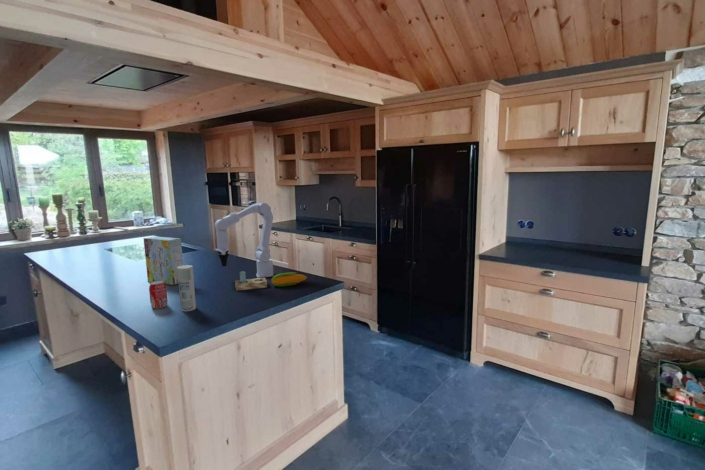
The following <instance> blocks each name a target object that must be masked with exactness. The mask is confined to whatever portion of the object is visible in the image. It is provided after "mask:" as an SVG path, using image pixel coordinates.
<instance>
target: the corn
mask: <svg viewBox="0 0 705 470" xmlns="http://www.w3.org/2000/svg"><path fill="white" fill-rule="evenodd" d="M307 278H308V277H307V276H306V275H304V274H301V273H300V274H298V273H297V272H295V271H294V272H293V271H292V272H291V271H290V272H288V271H287V272H282V273H277V274H274V276H271V279H270V282H271V284H272V286H275V287H278V288H279V287H280V288H281V287H291V286H295V285H297V284H299V283H301V282H303V281H305V280H306V279H307Z"/></svg>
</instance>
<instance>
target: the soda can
mask: <svg viewBox="0 0 705 470" xmlns="http://www.w3.org/2000/svg"><path fill="white" fill-rule="evenodd" d="M148 290H149V291H148V292H149V301H150V307H151V308H153V309H154V308H155V309H154V310H156V309H157V310H160V309H163V307H164V308H166V307H167V305H168V294H167V284H165V283H164V281H161V280H160V281H153V282H149V287H148ZM159 308H160V309H159Z"/></svg>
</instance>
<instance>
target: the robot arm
mask: <svg viewBox="0 0 705 470" xmlns="http://www.w3.org/2000/svg"><path fill="white" fill-rule="evenodd" d="M252 213H255V214H259V215H260V216H261V217H262V221H263V222H262V227H261V235H260V241H259V244H258V245H257V248H256V250H255V252H254V257H255V259H256V274H255V275H256V278H268V277H273V276H275V274H274V265H273V263H274V262H273V260H270V258H271V254H270V247H269V245H270V239H271V232H272V228H273V227H272V226H273V220H274V215H273V212H272V207H271V206H270V205H269V204H268V203H266V202H260V201H258V202H256V203H252V204H251V205H249V206H247V207H246V208H244V209H242V210H241V211H239V212H237V213H236V212H230V213H229V215H227V216H223V217H222V218H221V219H217V220H216V221H215V223H214V228H215V229H216V230H215V231H216V245H217V248H215V251H216V252H217V253H218V254H217V256H218V257H219V259H220V262H221V266H222V267H227V264H228V258H229V255H230V253H229V250H230V248H229V238H228V236H229V235H228V229H229V228H230V227H231V226H233V225H235V224H237V223H239V222H240V220H241V219H242V218H244V217H246V216H248V215H250V214H252Z"/></svg>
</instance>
